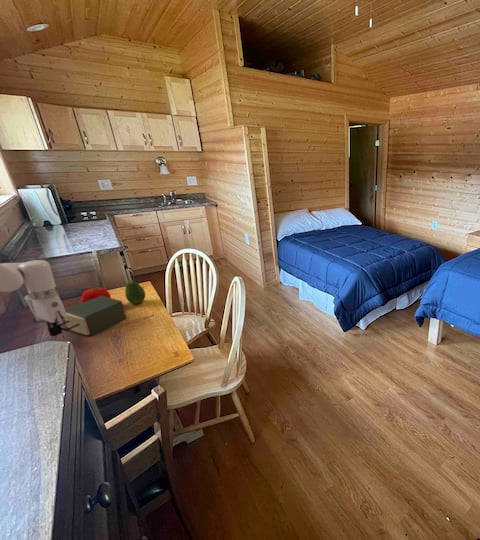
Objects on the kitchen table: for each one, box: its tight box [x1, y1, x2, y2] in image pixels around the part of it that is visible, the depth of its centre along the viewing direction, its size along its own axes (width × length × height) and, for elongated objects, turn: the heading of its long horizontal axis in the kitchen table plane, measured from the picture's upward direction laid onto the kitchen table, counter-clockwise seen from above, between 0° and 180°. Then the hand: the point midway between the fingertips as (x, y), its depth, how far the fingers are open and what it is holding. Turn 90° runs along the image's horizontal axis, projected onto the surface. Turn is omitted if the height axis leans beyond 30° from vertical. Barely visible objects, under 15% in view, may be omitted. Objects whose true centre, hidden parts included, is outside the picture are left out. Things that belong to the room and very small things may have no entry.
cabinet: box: [65, 296, 127, 337], centre depth 132 cm, size 15×13×10 cm
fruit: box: [124, 280, 146, 305], centre depth 150 cm, size 8×8×12 cm
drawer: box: [60, 312, 90, 336], centre depth 128 cm, size 18×11×8 cm, turn 162°
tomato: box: [80, 286, 112, 303], centre depth 143 cm, size 10×11×11 cm
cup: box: [24, 294, 45, 322], centre depth 132 cm, size 8×8×12 cm
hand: (56, 334), depth 119 cm, fingers closed
